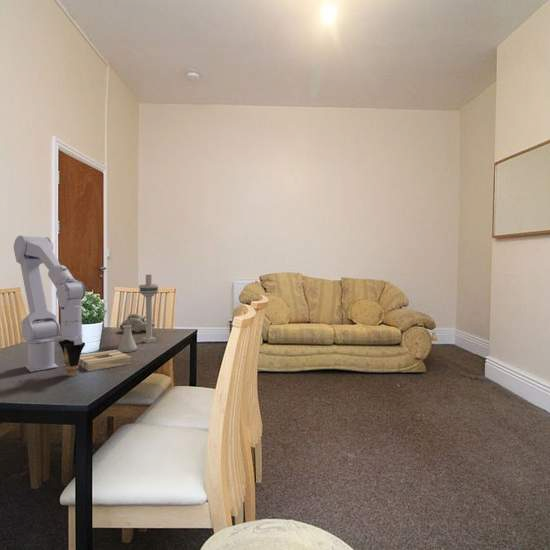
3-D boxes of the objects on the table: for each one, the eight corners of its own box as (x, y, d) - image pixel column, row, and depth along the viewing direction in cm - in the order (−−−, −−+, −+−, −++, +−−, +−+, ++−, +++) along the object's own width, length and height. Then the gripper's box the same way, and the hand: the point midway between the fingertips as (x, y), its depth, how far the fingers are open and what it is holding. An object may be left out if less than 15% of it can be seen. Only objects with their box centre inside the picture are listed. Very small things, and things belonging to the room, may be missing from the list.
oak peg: (63, 375, 118) (62, 346, 118) (77, 372, 121) (76, 344, 120) (66, 377, 115) (66, 348, 115) (80, 375, 118) (80, 346, 117)
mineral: (150, 329, 186) (154, 310, 191) (115, 327, 186) (119, 308, 191) (156, 337, 197) (159, 319, 202) (122, 335, 197) (127, 317, 202)
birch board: (75, 363, 132) (75, 355, 132) (116, 356, 142) (116, 349, 142) (88, 371, 122) (88, 363, 122) (131, 363, 131) (131, 356, 131)
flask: (128, 353, 147) (128, 327, 147) (113, 351, 149) (113, 326, 149) (141, 349, 154) (140, 325, 153) (126, 348, 156) (126, 324, 156)
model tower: (162, 341, 169) (162, 274, 168) (144, 344, 163) (144, 275, 162) (153, 338, 175) (152, 274, 174) (135, 341, 169) (135, 274, 168)
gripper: (51, 319, 120) (51, 362, 120) (63, 325, 109) (63, 371, 110) (75, 317, 125) (75, 358, 125) (89, 322, 114) (89, 367, 114)
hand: (71, 364), depth 118 cm, fingers closed on oak peg, 4 cm apart
